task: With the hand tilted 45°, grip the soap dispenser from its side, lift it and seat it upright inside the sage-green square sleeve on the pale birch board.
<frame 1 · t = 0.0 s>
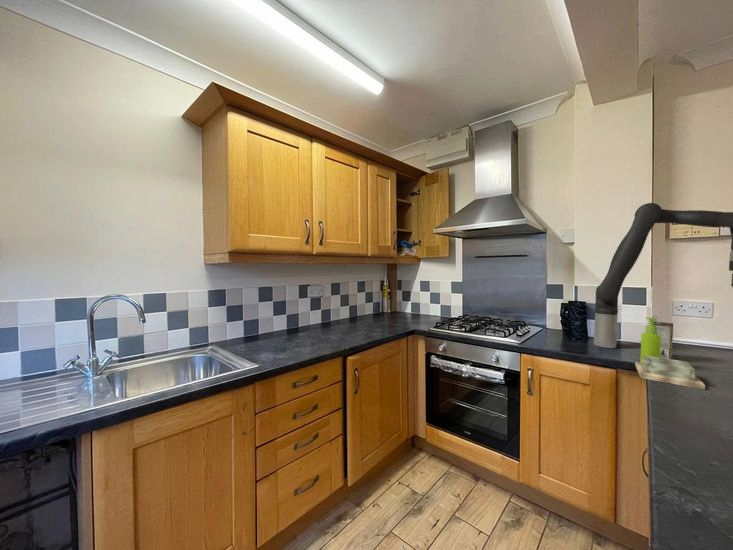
coffee box: (661, 358, 136), on the countertop
dispenser caddy: (666, 376, 112), on the countertop
soap dispenser: (649, 365, 126), on the countertop
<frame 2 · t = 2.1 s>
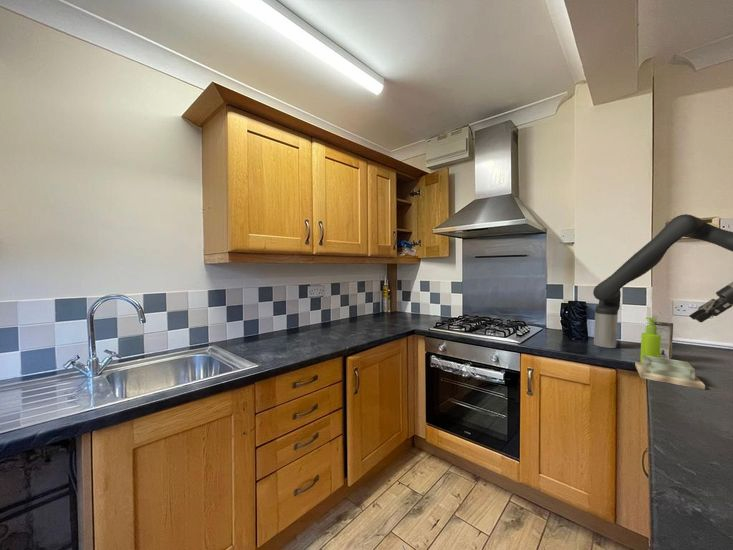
hand: (694, 319, 118), 21 cm above the countertop, tool tilted 45°, fingers open, 8 cm apart
nothing on the countertop moved.
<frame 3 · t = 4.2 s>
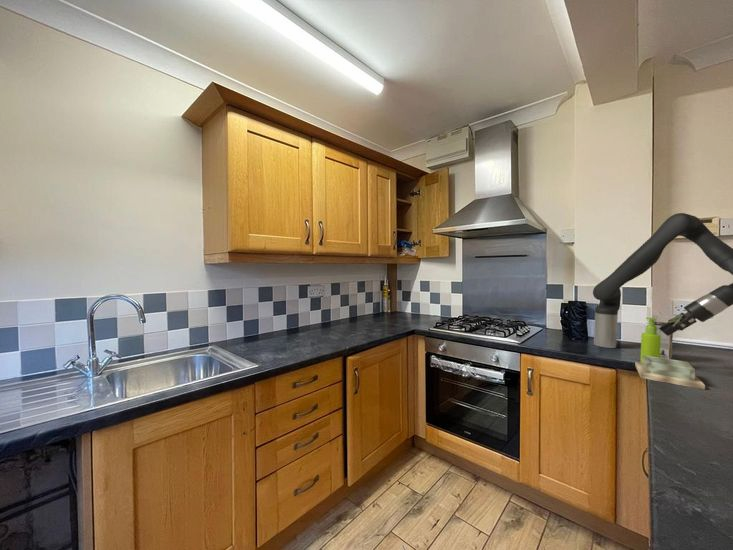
hand: (663, 332, 123), 15 cm above the countertop, tool tilted 45°, fingers open, 8 cm apart
nothing on the countertop moved.
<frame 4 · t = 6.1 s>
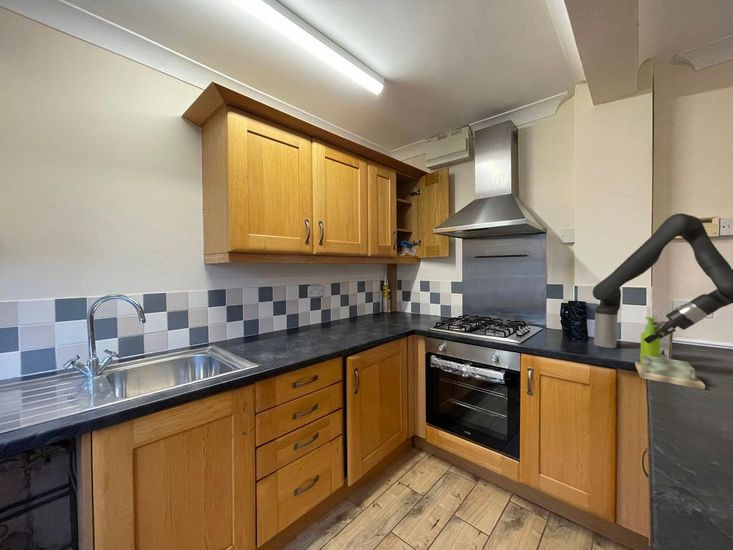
hand: (644, 339, 126), 10 cm above the countertop, tool tilted 45°, fingers closed on soap dispenser, 6 cm apart
soap dispenser: (649, 364, 126), on the countertop, touching gripper
everything else where it was.
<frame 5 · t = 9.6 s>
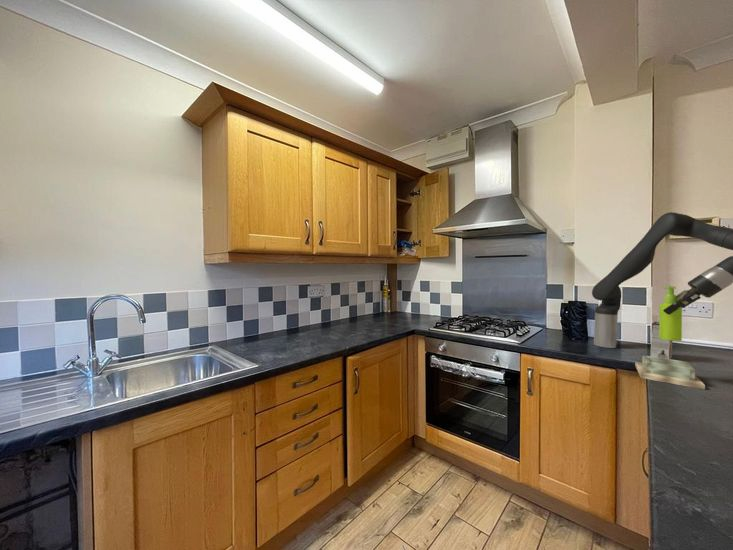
hand: (663, 311, 112), 24 cm above the countertop, tool tilted 45°, fingers closed on soap dispenser, 6 cm apart
soap dispenser: (669, 339, 112), point 14 cm above the countertop, touching gripper
everything else where it was.
when the fingers open (13 cm above the countertop, at t = 13.0 s): soap dispenser stays where it is, resting on dispenser caddy.
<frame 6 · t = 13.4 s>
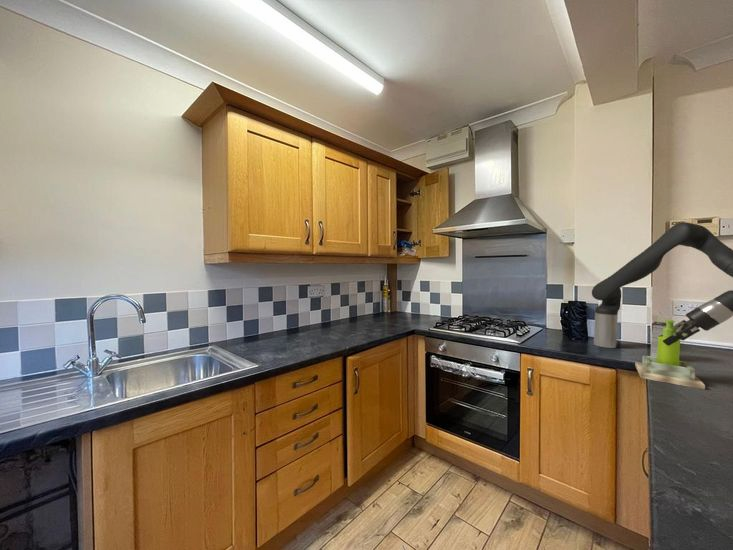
hand: (662, 341, 112), 13 cm above the countertop, tool tilted 45°, fingers open, 8 cm apart
soap dispenser: (666, 372, 112), point 1 cm above the countertop, touching dispenser caddy
everything else where it was.
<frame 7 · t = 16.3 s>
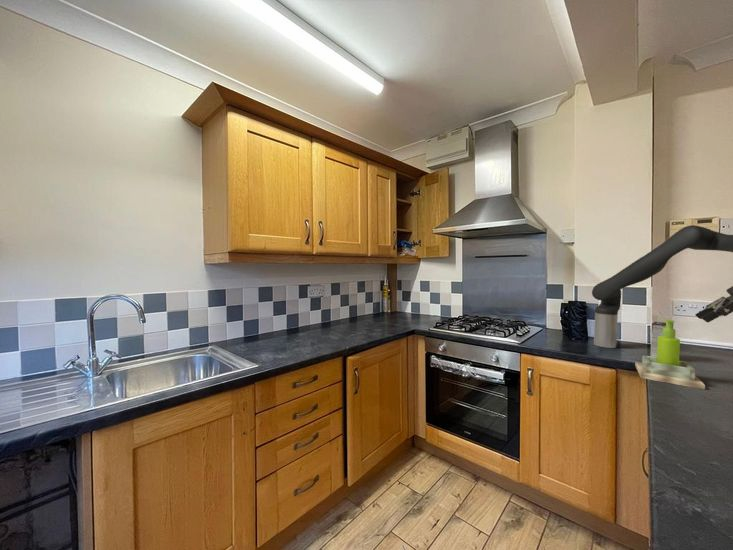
hand: (700, 318, 107), 23 cm above the countertop, tool tilted 45°, fingers open, 8 cm apart
nothing on the countertop moved.
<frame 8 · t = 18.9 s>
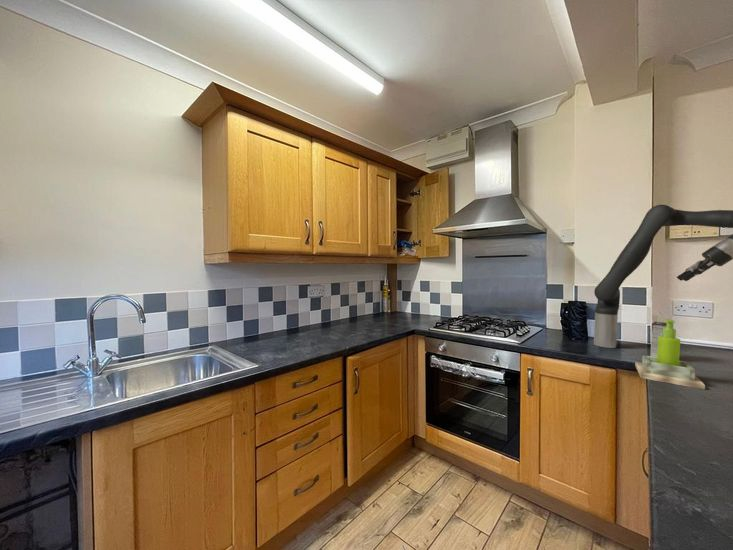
hand: (680, 279, 126), 37 cm above the countertop, tool tilted 45°, fingers open, 8 cm apart
nothing on the countertop moved.
at the end: soap dispenser 0.6 cm off-centre on the dispenser caddy, point 1.3 cm above the dispenser caddy's base; soap dispenser tilted 0°; the gripper is holding nothing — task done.
